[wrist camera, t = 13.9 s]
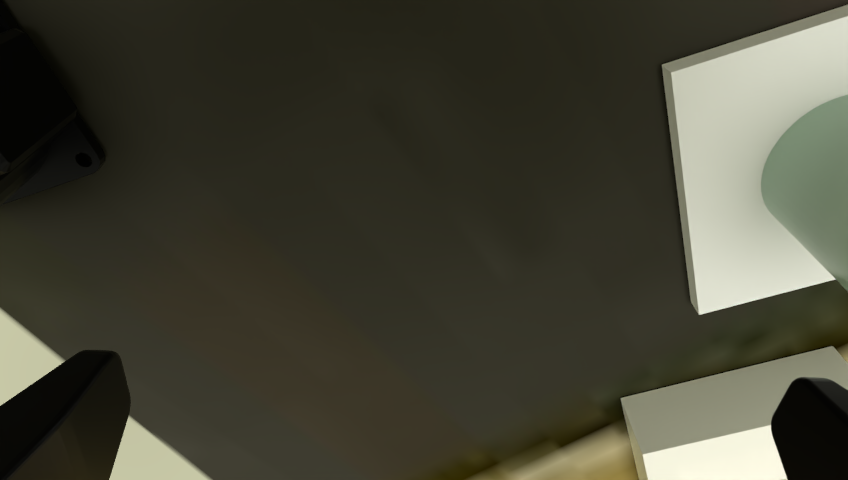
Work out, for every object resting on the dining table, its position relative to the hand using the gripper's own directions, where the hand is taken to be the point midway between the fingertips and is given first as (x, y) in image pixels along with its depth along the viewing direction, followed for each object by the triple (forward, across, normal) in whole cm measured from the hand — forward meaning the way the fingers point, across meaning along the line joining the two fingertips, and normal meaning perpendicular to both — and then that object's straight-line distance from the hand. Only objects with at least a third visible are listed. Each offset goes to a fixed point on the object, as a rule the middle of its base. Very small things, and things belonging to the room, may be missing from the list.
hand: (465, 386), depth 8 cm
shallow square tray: (+13, -16, +16) cm, 26 cm away
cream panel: (+13, -14, +2) cm, 19 cm away
